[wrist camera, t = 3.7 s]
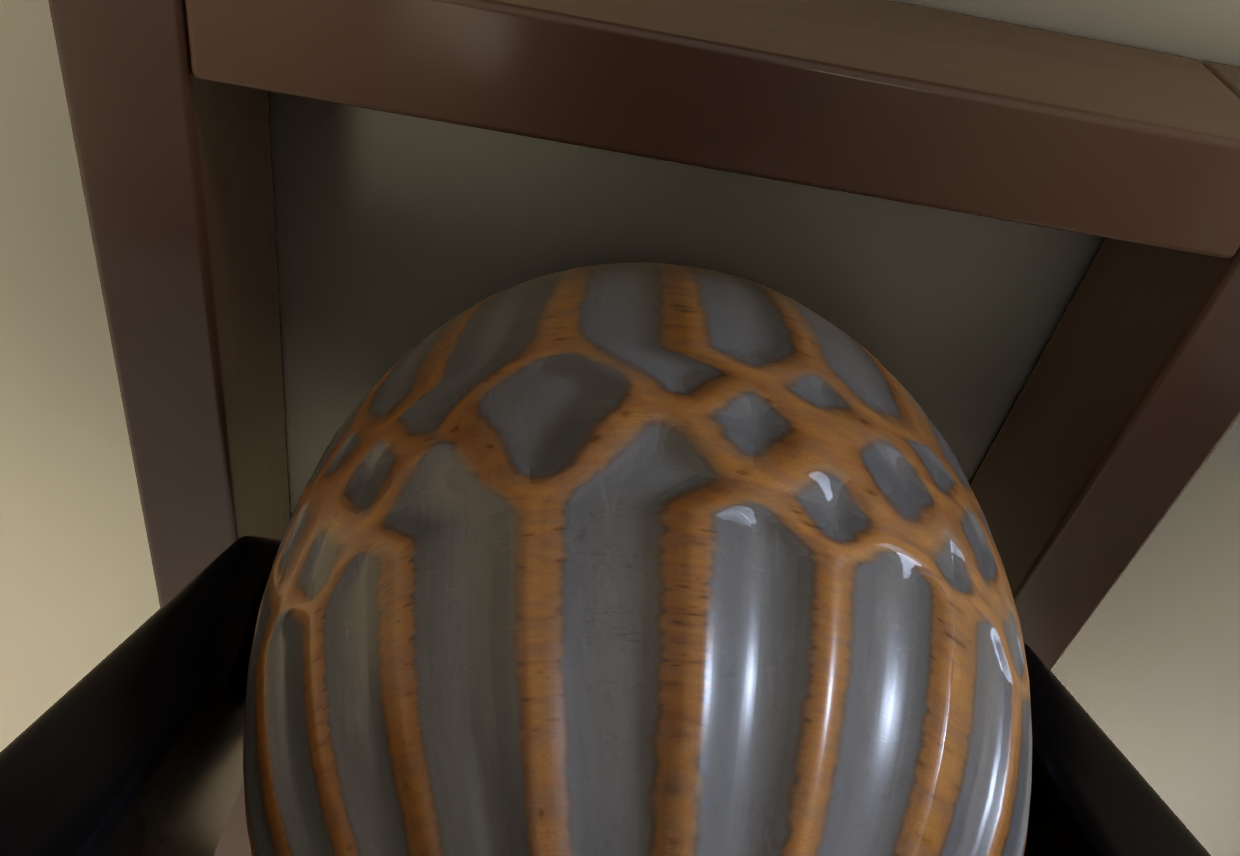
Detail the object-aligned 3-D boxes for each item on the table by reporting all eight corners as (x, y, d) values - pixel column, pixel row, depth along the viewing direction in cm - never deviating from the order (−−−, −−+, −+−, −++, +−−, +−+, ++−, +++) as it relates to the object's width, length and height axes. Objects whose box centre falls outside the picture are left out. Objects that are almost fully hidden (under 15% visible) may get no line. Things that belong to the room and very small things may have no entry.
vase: (253, 436, 13) (-182, 1385, 6) (603, 11, 9) (471, 1138, 3) (662, 663, 16) (667, 1485, 9) (1050, 400, 12) (1530, 1427, 5)
